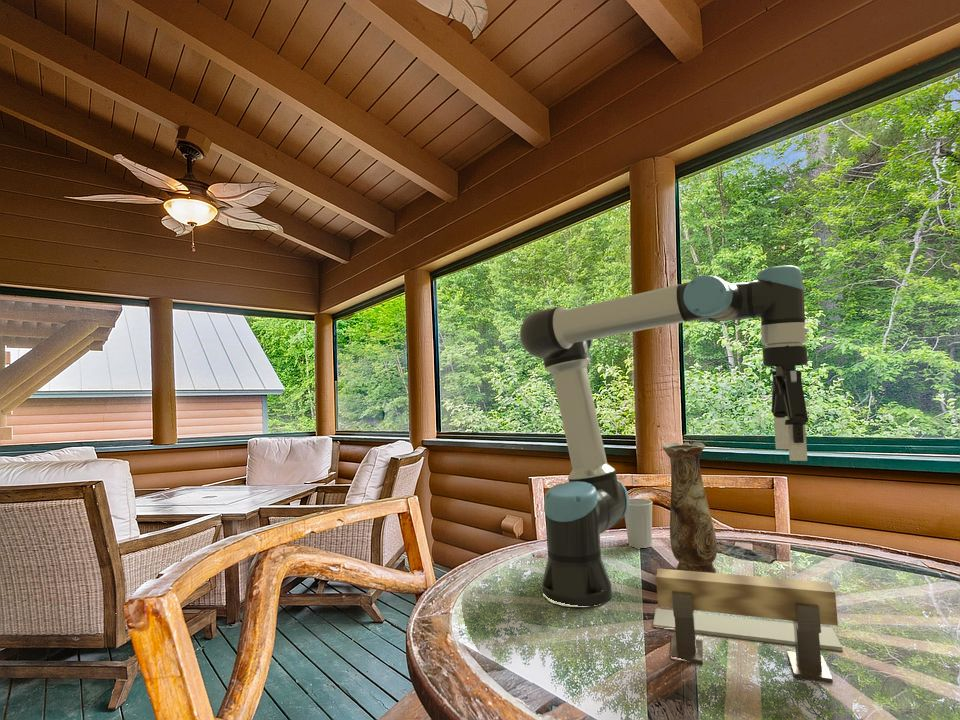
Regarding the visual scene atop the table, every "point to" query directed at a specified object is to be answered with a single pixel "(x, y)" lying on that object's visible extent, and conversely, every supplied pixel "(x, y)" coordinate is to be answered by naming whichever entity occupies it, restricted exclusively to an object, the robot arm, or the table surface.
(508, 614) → the table surface
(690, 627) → the standard left
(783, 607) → the rail
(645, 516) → the cup
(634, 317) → the robot arm
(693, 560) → the vase
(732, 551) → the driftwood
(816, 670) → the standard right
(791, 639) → the cream flat board
